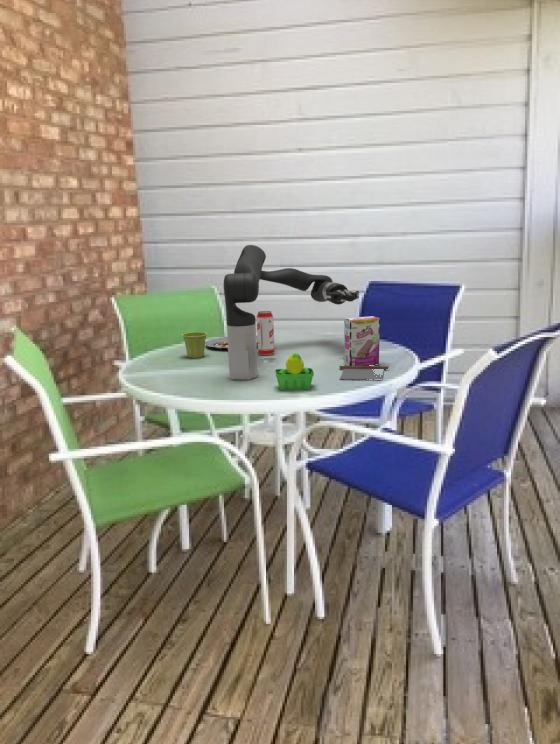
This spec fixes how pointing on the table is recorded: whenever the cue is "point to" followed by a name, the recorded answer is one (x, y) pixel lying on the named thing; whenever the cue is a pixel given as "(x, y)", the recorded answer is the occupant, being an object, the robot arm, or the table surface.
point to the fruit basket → (294, 374)
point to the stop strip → (363, 367)
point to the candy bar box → (361, 341)
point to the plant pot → (195, 344)
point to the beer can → (265, 333)
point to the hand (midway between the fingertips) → (351, 298)
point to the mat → (359, 374)
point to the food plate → (221, 342)
